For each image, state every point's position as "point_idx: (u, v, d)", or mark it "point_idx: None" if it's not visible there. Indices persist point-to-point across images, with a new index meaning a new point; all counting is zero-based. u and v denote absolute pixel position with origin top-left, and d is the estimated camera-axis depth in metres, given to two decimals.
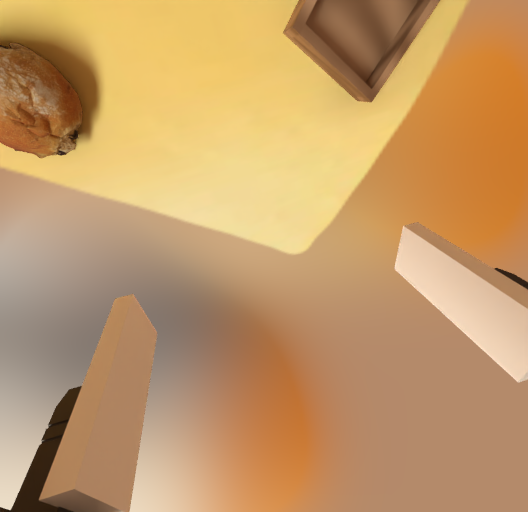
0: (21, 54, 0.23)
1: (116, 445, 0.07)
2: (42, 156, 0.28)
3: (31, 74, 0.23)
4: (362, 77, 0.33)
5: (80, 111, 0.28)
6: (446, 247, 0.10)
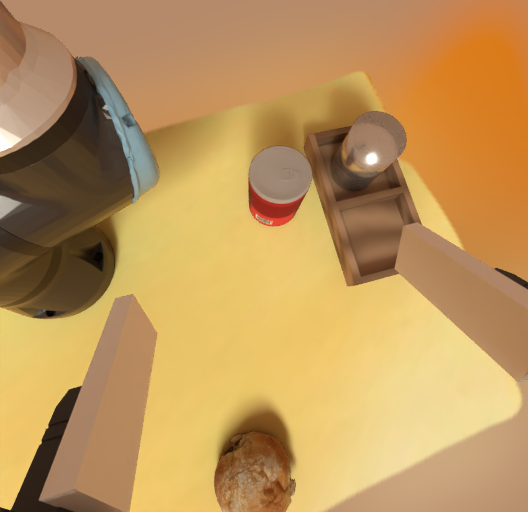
0: (245, 446, 0.32)
1: (116, 445, 0.07)
2: None
3: (258, 456, 0.31)
4: None
5: (283, 449, 0.34)
6: (446, 247, 0.10)
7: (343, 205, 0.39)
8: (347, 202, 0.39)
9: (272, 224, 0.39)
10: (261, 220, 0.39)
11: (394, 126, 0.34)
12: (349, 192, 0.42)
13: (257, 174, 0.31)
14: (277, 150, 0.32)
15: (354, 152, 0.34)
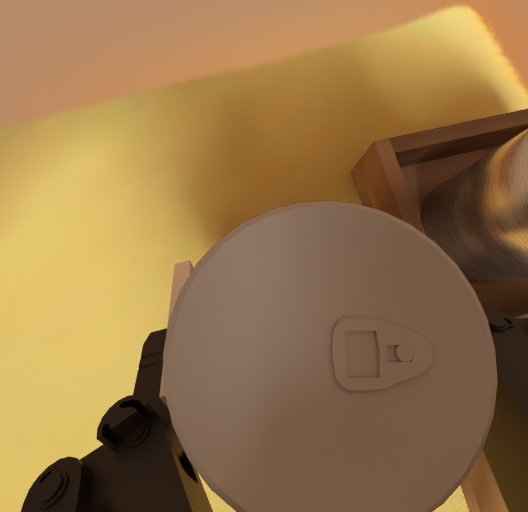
0: None
1: None
2: None
3: None
4: None
5: None
6: None
7: None
8: None
9: None
10: None
11: None
12: (472, 285, 0.17)
13: (209, 361, 0.06)
14: (312, 225, 0.06)
15: None
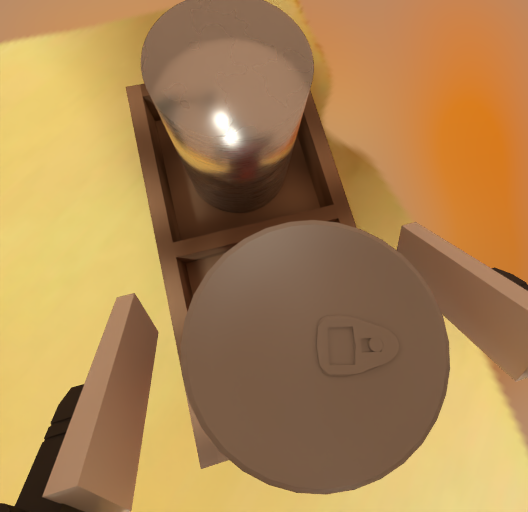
0: None
1: (118, 443, 0.07)
2: None
3: None
4: None
5: None
6: (444, 247, 0.10)
7: (189, 251, 0.16)
8: (200, 244, 0.16)
9: None
10: None
11: (280, 34, 0.12)
12: (228, 215, 0.19)
13: (217, 350, 0.07)
14: (301, 240, 0.08)
15: (158, 112, 0.11)
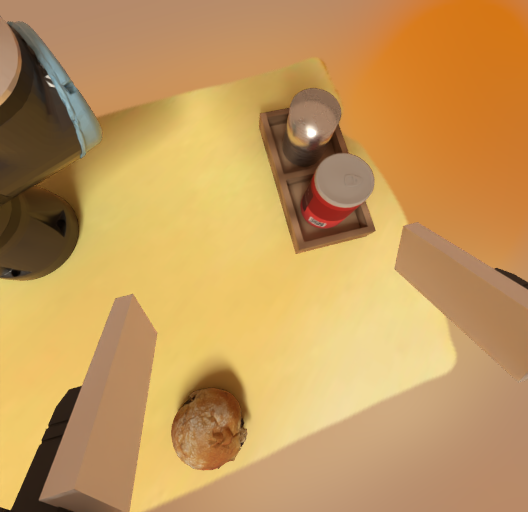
0: (199, 397, 0.35)
1: (116, 445, 0.07)
2: (234, 458, 0.34)
3: (209, 405, 0.34)
4: (355, 226, 0.44)
5: (237, 402, 0.37)
6: (446, 247, 0.10)
7: (290, 177, 0.42)
8: (294, 175, 0.42)
9: (324, 226, 0.41)
10: (314, 223, 0.41)
11: (330, 101, 0.37)
12: (299, 167, 0.45)
13: (323, 180, 0.33)
14: (340, 157, 0.34)
15: (293, 126, 0.37)
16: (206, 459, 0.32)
